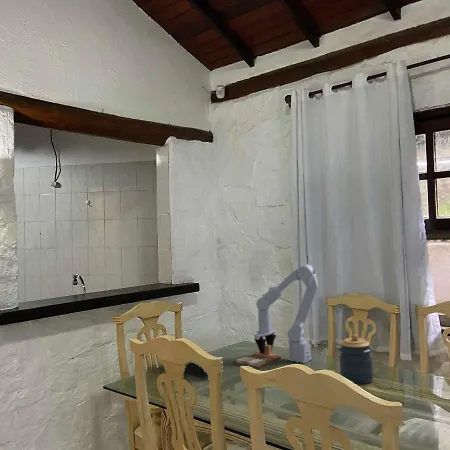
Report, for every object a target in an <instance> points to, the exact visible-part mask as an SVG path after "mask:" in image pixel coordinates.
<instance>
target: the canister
mask: <svg viewBox="0 0 450 450" xmlns="http://www.w3.org/2000/svg"><path fill="white" fill-rule="evenodd" d="M340 345H341V346H339V347H338V350H339V356H338V359H339V375H340V374H341V375H342V376H344V377H346V378H347V379H349V380H351V381H353V382H354V383H353V384H369V383H372V382H373V380H374V376H375V375H374V374H375V372H374V368H373V367H374V366H373V364H374V363H373V360H374V358H373V356H372V352H373V348H372V347H371V346H370V345H371V342H369V341H367V340H366V338H361V337H359V336H358V334H352V335H351V337H347V338H344V339H343V340H341V341H340Z"/></svg>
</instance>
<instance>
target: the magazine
mask: <svg viewBox="0 0 450 450" xmlns="http://www.w3.org/2000/svg"><path fill="white" fill-rule="evenodd" d="M185 374H187V375H191V376H194V377H201V378H205V379H207V378H209V377H208V375H207V373H206V372H204V370H203V369H202V368H201V367H199V366H198V365H196V364H194V363H189V364H187V366H186V368H185Z"/></svg>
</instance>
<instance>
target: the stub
mask: <svg viewBox="0 0 450 450" xmlns="http://www.w3.org/2000/svg"><path fill="white" fill-rule="evenodd" d="M272 351H273V350H271V345H267V343H265V352H264V354H262V353H260V352H259V350H257V351H254V352H253V355H257V356H263V357H268V358H274V359H275V358H277V357H280V353H274V352H272Z"/></svg>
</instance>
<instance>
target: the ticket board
mask: <svg viewBox="0 0 450 450" xmlns="http://www.w3.org/2000/svg"><path fill="white" fill-rule="evenodd" d="M279 359H280V360H281V359H282V357H281V356H279V357H277V358H275V359H274V358H268V357H263V356H257V355H253V354H250V355H248V356H245V355H244V356H243V357H239V358H237V359H236V360H235V361H233V363H232V364H233V365H235V366H239V367H242V366H241V365H244V366H250V367H253V368H252V369H254V368H256V369H255V370H261V369H263V368H265V367H267V366H269V365H271V364H273V363H275V362H278V361H280V360H279ZM244 366H243V367H244Z"/></svg>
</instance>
